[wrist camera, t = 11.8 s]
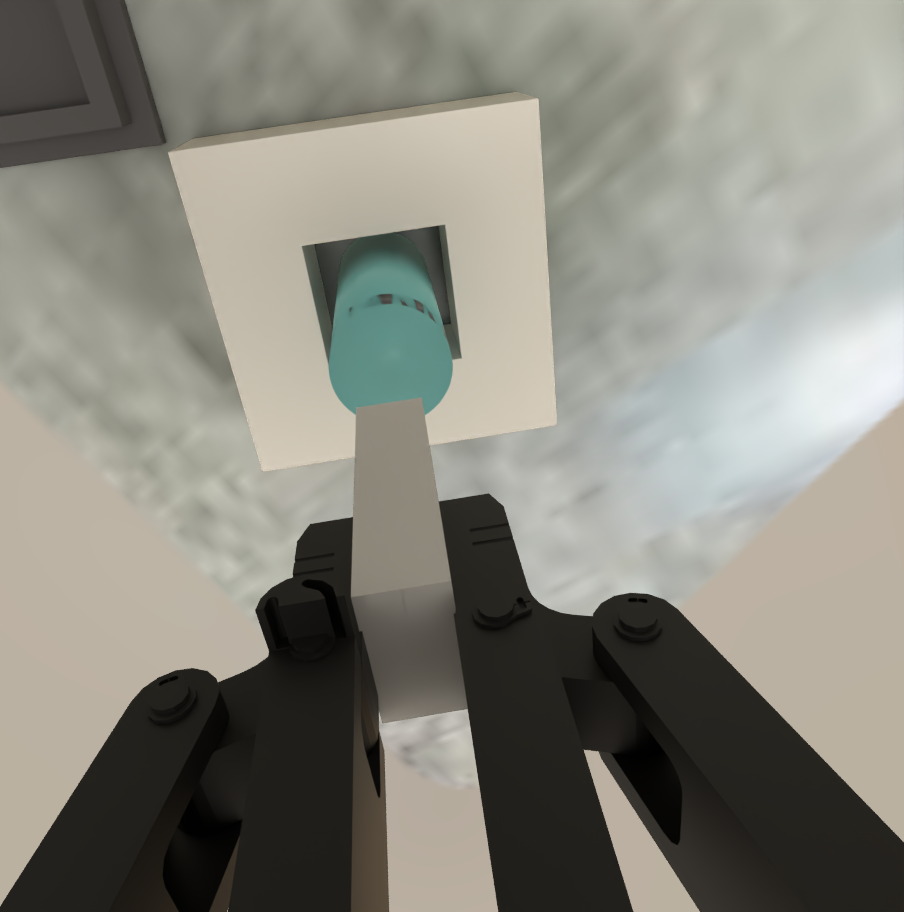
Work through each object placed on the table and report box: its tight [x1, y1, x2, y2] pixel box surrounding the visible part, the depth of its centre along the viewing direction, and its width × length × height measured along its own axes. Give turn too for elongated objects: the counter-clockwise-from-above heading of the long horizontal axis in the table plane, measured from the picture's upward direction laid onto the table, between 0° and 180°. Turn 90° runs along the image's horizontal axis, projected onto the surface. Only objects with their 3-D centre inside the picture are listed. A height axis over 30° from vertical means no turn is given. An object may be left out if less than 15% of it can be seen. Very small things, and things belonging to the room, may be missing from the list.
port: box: [168, 92, 557, 472], centre depth 28 cm, size 12×12×4 cm
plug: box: [329, 232, 453, 415], centre depth 25 cm, size 4×4×10 cm
